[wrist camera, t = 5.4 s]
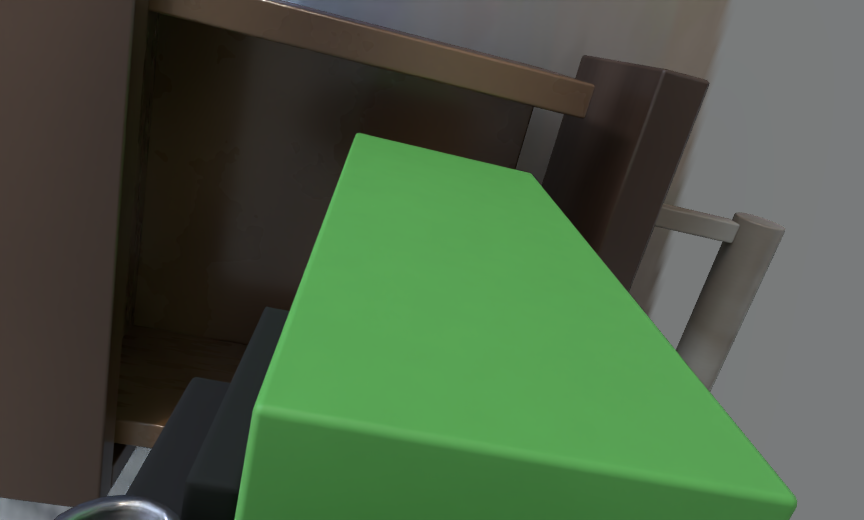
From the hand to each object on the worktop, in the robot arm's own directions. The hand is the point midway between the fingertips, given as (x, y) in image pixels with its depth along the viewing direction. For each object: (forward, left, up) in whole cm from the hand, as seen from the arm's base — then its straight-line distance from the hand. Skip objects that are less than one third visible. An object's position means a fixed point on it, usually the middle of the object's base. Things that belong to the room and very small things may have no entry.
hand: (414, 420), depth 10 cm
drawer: (-1, 0, -12) cm, 12 cm away
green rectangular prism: (0, 0, -5) cm, 5 cm away
